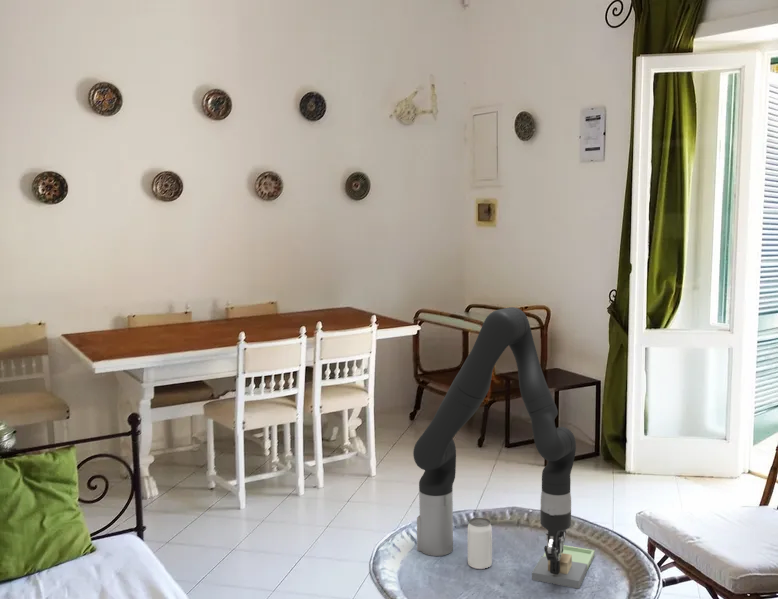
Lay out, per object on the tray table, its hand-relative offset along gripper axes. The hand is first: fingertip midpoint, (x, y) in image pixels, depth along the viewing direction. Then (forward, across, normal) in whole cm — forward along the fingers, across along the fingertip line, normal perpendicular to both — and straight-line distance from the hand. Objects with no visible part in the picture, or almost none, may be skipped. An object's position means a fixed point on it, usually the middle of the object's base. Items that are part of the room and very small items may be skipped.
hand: (555, 572), depth 206 cm
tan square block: (+1, -5, 0) cm, 5 cm away
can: (+3, -3, -21) cm, 21 cm away
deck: (+3, -5, 0) cm, 6 cm away
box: (+3, -15, 0) cm, 15 cm away
